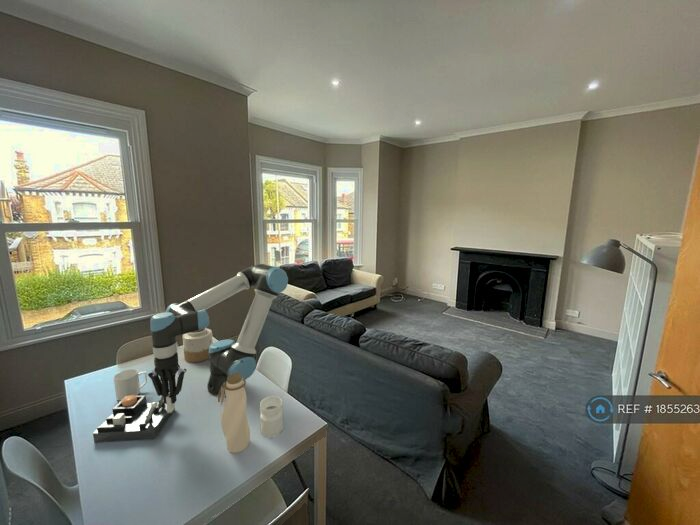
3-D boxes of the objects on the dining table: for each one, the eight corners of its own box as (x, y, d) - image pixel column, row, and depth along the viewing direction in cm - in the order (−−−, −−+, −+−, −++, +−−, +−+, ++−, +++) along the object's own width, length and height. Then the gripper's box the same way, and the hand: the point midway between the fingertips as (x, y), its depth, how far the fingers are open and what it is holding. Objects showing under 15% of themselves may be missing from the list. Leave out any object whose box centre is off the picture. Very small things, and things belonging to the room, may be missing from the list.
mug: (117, 405, 126) (114, 382, 124) (115, 395, 133) (112, 373, 131) (150, 393, 134) (147, 372, 132) (146, 385, 141) (144, 364, 139)
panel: (175, 409, 125) (174, 393, 123) (154, 439, 108) (152, 421, 107) (123, 411, 122) (121, 396, 121) (94, 442, 106) (91, 425, 105)
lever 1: (152, 418, 112) (159, 401, 111) (148, 424, 109) (155, 406, 108) (147, 417, 112) (154, 399, 111) (142, 422, 109) (150, 404, 108)
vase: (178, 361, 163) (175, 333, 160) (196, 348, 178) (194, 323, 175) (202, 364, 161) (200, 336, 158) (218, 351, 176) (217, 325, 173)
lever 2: (164, 403, 121) (171, 387, 120) (160, 408, 118) (168, 391, 117) (159, 402, 120) (166, 385, 119) (155, 406, 118) (163, 389, 117)
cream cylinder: (259, 424, 117) (258, 398, 115) (280, 419, 120) (280, 393, 118) (261, 440, 109) (260, 412, 107) (284, 433, 113) (284, 407, 110)
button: (140, 403, 121) (139, 394, 120) (133, 411, 116) (131, 402, 115) (127, 403, 120) (126, 395, 119) (120, 411, 115) (119, 403, 115)
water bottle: (222, 459, 100) (217, 388, 95) (220, 441, 108) (215, 374, 103) (252, 449, 105) (249, 380, 100) (248, 432, 113) (245, 367, 108)
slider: (125, 422, 111) (124, 413, 110) (120, 427, 108) (119, 418, 108) (118, 422, 111) (117, 413, 110) (113, 428, 108) (112, 418, 107)
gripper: (188, 348, 111) (193, 402, 115) (152, 349, 109) (158, 404, 114) (179, 358, 104) (184, 416, 108) (141, 359, 102) (147, 418, 106)
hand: (171, 410), depth 111 cm, fingers closed
